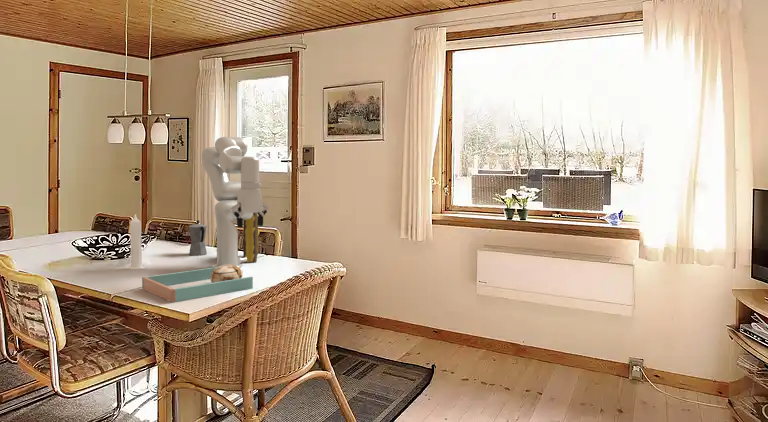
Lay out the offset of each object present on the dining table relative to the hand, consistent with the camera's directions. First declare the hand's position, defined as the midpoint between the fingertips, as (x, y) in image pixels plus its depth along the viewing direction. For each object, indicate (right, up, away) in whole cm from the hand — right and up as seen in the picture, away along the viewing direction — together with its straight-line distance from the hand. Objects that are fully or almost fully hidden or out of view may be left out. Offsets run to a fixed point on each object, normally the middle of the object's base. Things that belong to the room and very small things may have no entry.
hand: (250, 226), depth 232 cm
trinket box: (-8, -24, -6) cm, 26 cm away
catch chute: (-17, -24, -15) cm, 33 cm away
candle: (-57, -20, +18) cm, 63 cm away
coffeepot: (-41, -17, +56) cm, 71 cm away
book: (-12, -18, +49) cm, 53 cm away
